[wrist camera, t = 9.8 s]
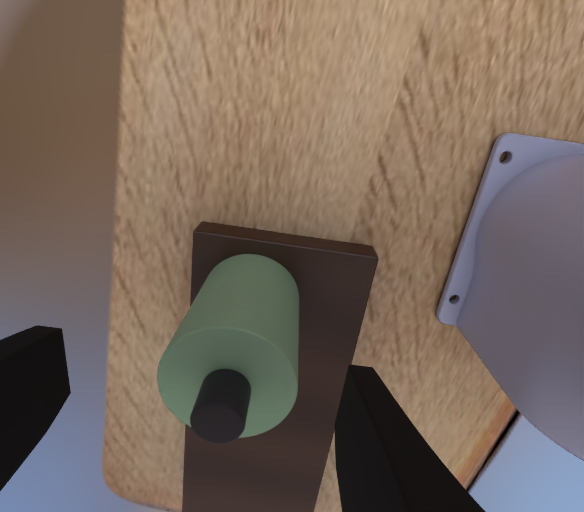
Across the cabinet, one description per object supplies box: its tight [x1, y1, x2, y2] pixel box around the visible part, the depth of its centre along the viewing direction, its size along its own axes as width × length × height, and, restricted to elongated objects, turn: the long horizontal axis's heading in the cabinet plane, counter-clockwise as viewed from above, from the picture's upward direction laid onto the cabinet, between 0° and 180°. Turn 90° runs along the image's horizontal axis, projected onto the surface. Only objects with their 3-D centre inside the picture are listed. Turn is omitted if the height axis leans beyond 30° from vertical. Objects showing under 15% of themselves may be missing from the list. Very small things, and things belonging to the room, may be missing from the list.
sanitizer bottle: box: [157, 254, 299, 444], centre depth 14 cm, size 5×5×8 cm
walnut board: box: [182, 222, 378, 512], centre depth 20 cm, size 20×8×2 cm, turn 172°
